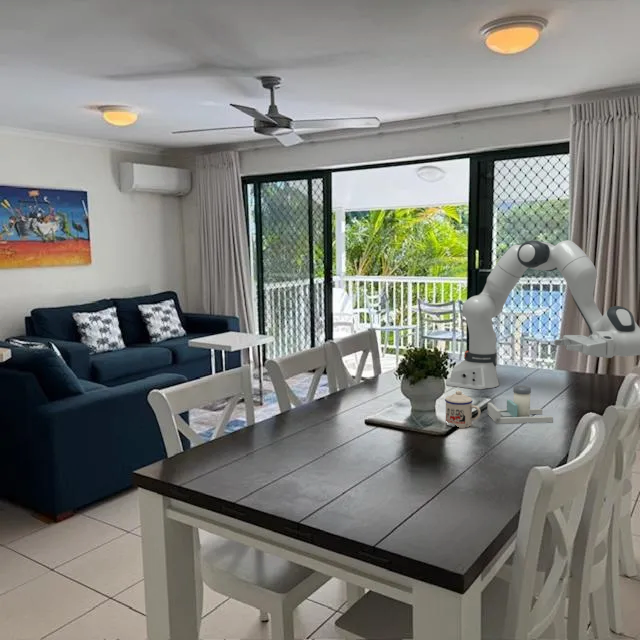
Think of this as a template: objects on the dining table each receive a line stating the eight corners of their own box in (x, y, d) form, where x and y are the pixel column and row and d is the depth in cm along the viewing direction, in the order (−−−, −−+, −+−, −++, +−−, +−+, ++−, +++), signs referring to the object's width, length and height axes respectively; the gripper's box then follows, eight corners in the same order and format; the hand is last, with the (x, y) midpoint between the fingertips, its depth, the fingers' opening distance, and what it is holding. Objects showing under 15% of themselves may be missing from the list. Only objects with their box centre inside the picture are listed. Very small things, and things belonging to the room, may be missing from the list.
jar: (512, 420, 210) (512, 389, 209) (513, 415, 216) (514, 385, 214) (529, 421, 208) (530, 390, 207) (530, 416, 214) (531, 386, 212)
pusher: (509, 414, 215) (510, 399, 215) (517, 420, 208) (517, 405, 207) (497, 415, 215) (497, 400, 215) (504, 421, 208) (504, 405, 207)
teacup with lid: (441, 426, 205) (441, 392, 203) (450, 419, 213) (450, 386, 211) (475, 431, 199) (476, 396, 197) (484, 424, 206) (484, 390, 205)
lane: (540, 413, 217) (541, 401, 217) (552, 422, 207) (553, 409, 206) (487, 414, 217) (487, 402, 217) (497, 423, 206) (497, 411, 206)
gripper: (586, 330, 219) (548, 331, 219) (615, 340, 199) (573, 340, 198) (586, 347, 220) (548, 348, 219) (614, 358, 199) (572, 359, 199)
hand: (560, 345), depth 209 cm, fingers open, 8 cm apart
